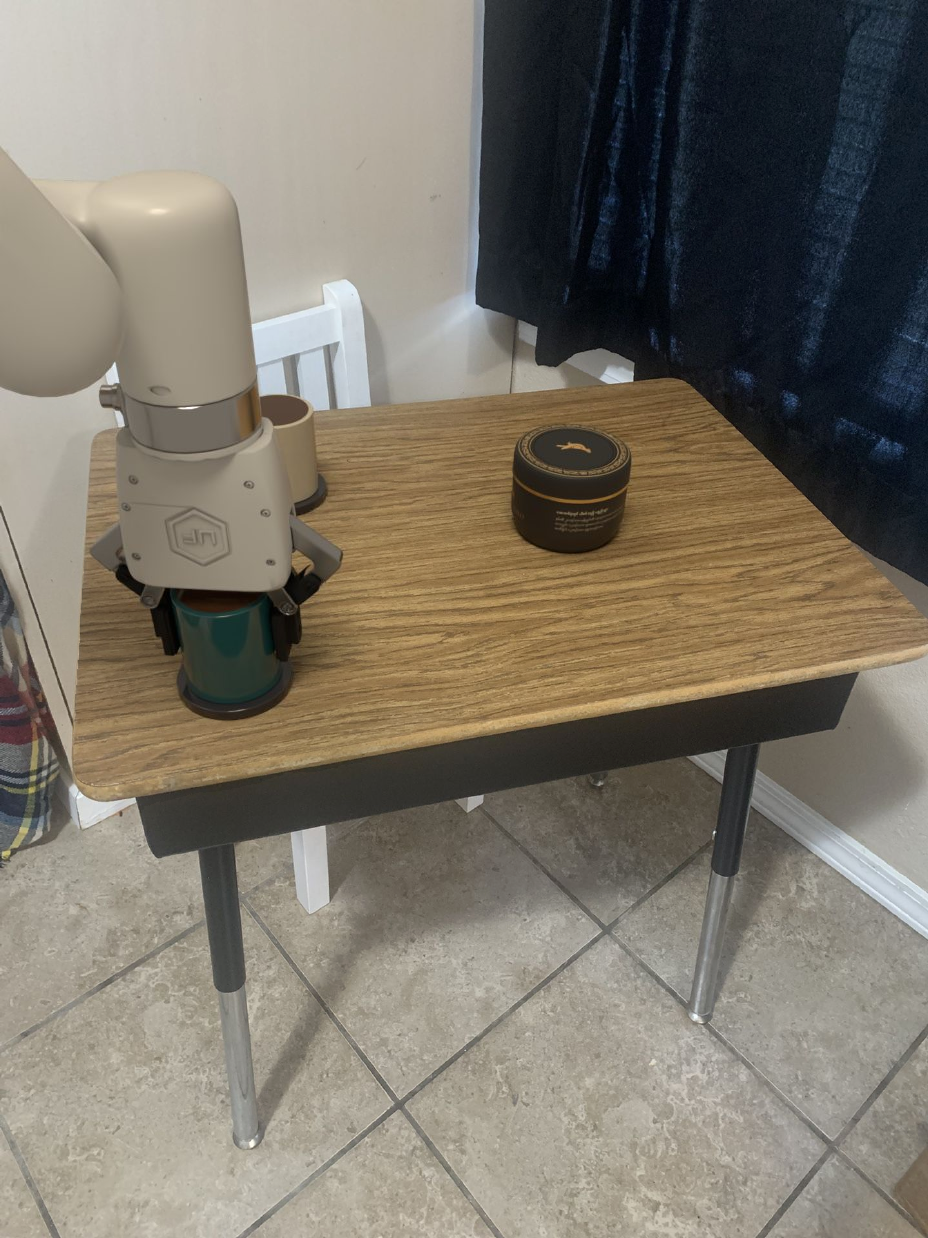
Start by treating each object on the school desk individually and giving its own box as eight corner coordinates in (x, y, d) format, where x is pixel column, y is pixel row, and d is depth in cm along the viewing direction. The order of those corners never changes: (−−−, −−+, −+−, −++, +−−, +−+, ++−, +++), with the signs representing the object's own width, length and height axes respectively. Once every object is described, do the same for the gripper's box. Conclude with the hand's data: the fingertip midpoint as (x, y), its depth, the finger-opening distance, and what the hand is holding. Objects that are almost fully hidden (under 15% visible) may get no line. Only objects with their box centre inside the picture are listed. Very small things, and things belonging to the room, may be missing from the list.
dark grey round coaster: (239, 521, 85) (238, 513, 85) (236, 475, 91) (235, 468, 91) (331, 513, 87) (330, 505, 86) (322, 468, 93) (321, 461, 92)
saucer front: (177, 727, 65) (175, 718, 65) (178, 651, 71) (176, 643, 71) (297, 712, 67) (297, 703, 66) (289, 639, 73) (288, 630, 72)
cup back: (322, 501, 87) (316, 424, 82) (246, 508, 86) (236, 430, 81) (312, 451, 94) (306, 377, 89) (242, 456, 93) (233, 382, 88)
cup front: (271, 707, 66) (260, 619, 61) (174, 701, 66) (156, 613, 61) (297, 621, 73) (289, 537, 69) (210, 616, 73) (196, 531, 69)
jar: (498, 499, 89) (503, 423, 85) (604, 492, 91) (614, 417, 86) (521, 561, 82) (527, 482, 77) (636, 553, 83) (649, 474, 78)
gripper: (18, 431, 53) (87, 675, 64) (334, 446, 53) (349, 689, 64) (68, 373, 59) (123, 606, 70) (353, 386, 59) (364, 618, 70)
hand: (231, 644), depth 67 cm, fingers open, 7 cm apart
